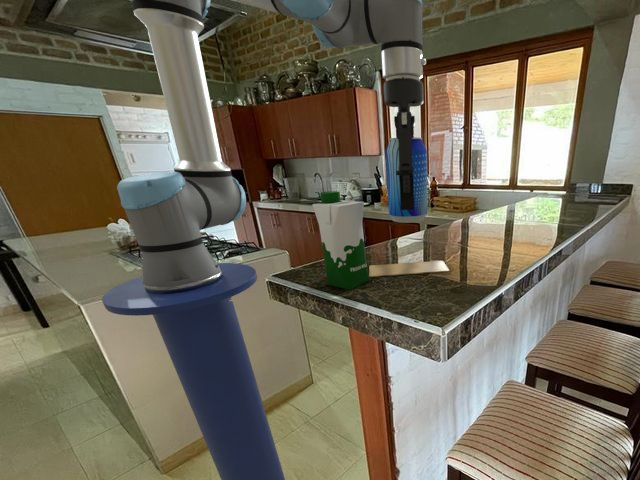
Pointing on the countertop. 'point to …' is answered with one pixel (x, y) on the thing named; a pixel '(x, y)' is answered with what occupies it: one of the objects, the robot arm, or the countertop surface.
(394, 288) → the countertop surface
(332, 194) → the milk carton
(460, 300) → the countertop surface
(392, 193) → the beer can
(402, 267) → the mat
